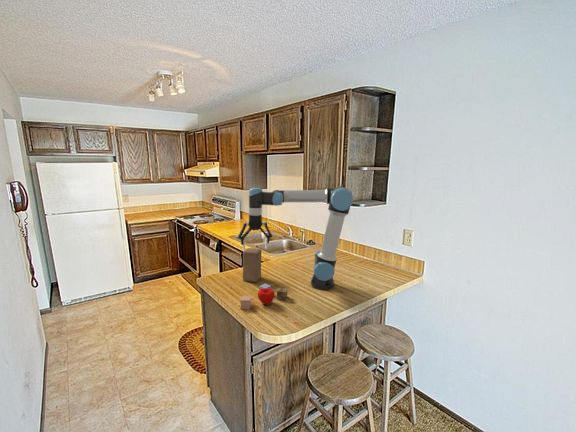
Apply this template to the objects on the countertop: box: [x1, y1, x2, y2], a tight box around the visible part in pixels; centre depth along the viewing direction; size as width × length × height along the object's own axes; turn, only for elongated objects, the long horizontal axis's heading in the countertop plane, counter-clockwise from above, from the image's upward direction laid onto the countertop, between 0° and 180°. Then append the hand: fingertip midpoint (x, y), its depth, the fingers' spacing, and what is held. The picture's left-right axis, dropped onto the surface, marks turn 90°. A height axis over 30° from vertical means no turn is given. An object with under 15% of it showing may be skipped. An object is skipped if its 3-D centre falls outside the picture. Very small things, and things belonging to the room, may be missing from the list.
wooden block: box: [242, 247, 262, 283], centre depth 181 cm, size 10×10×20 cm
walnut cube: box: [276, 287, 288, 301], centre depth 158 cm, size 5×5×5 cm
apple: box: [257, 288, 275, 306], centre depth 151 cm, size 9×9×8 cm
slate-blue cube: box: [258, 283, 272, 291], centre depth 162 cm, size 5×5×5 cm
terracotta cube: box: [240, 295, 252, 310], centre depth 147 cm, size 5×5×5 cm
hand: (255, 249), depth 165 cm, fingers open, 13 cm apart
